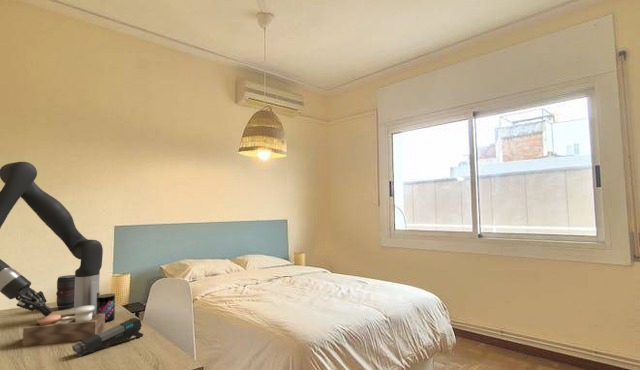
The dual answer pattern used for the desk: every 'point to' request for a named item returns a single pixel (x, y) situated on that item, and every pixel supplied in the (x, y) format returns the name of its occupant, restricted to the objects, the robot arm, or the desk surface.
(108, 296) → the supplement container
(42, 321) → the terracotta button
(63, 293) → the camera lens
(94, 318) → the console
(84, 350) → the gun
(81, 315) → the white button
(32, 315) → the desk surface
